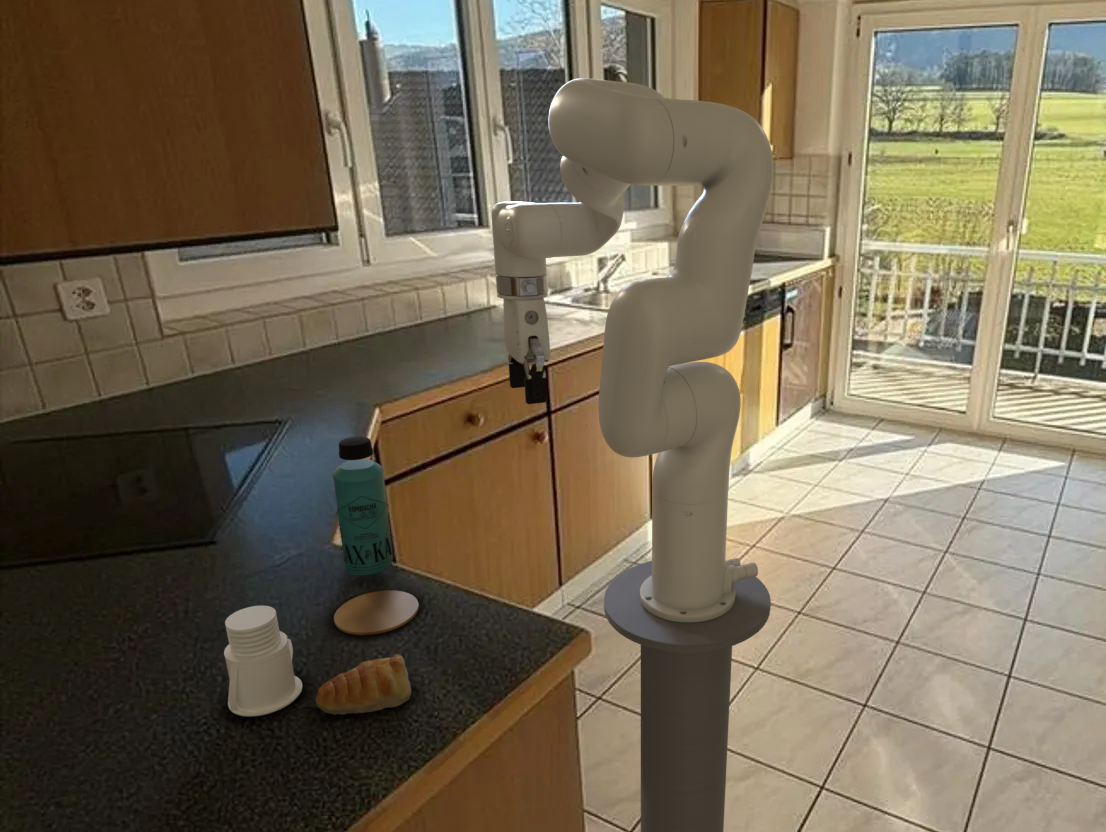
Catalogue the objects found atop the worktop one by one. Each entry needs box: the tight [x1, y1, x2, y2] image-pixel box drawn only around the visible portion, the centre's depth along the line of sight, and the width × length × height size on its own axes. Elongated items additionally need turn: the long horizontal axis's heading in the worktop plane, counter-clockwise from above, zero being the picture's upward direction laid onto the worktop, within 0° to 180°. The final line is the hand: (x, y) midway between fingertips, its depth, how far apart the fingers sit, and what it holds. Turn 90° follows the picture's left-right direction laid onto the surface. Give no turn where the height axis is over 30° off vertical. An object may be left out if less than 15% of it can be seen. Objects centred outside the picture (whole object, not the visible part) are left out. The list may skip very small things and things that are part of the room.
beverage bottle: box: [332, 436, 395, 576], centre depth 107 cm, size 6×7×20 cm
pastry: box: [315, 653, 412, 716], centre depth 85 cm, size 9×7×4 cm
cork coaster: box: [333, 589, 420, 636], centre depth 101 cm, size 10×10×1 cm
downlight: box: [223, 605, 303, 717], centre depth 83 cm, size 8×7×10 cm
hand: (528, 394), depth 125 cm, fingers open, 9 cm apart
